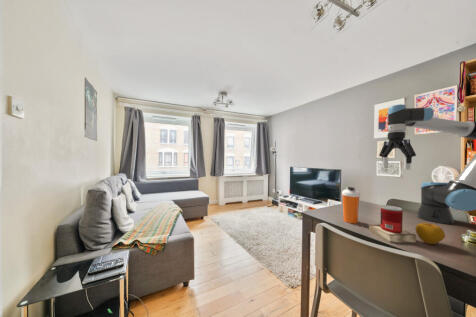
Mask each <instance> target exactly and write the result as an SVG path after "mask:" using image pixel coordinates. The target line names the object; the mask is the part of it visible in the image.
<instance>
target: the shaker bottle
mask: <svg viewBox="0 0 476 317" xmlns="http://www.w3.org/2000/svg"><path fill="white" fill-rule="evenodd" d="M341 195H342V214H343V222H345V223H347V224H354V225H355V224H356V225H357V224H358V223H359V209H360V208H359V206H360V197H361V193H360V192H359V191H358V190H356V187H352V186H346V188H345V189H343V190H342V192H341Z"/></svg>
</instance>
